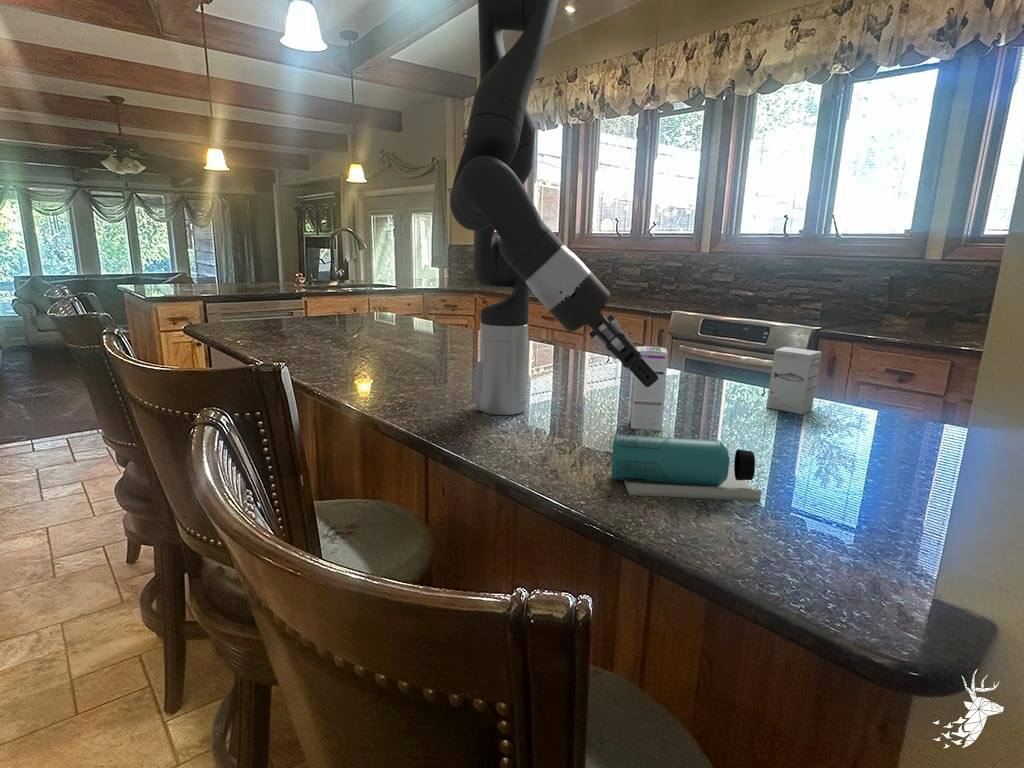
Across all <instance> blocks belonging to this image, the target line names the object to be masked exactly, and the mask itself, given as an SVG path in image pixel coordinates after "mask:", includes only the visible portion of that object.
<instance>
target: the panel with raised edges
mask: <svg viewBox="0 0 1024 768" xmlns="http://www.w3.org/2000/svg"><path fill="white" fill-rule="evenodd" d="M730 459H731V457H730V456H729V462H730V461H731V460H730ZM623 481H624V485H625V487H626V490H627V492H628V495H629V496H640V497H642V496H644V497H645V496H646V497H647V496H648V497H663V496H664V497H666V496H667V497H666V498H687V499H707V500H709V498H710V499H712V498H713V499H714V500H729V501H730V500H732V499H733V501H734V499H735V501H753V500H755V502H757V501H758V502H759V501H761V497H762V489H760V488H752V487H751V486H750V485H749V483H747V482H746V481H747V480H736V479H735V473H734V466H732V465H731V464H730V463H729V470H728V476H727V479H726V480H725V481H724V482H723V483H722V484H721V485H720V486H718V487H714V486H705V485H691V484H674V485H673V484H672V483H659V482H655V483H654V482H652V483H651V482H646V481H632V480H623ZM630 481H631V482H630ZM643 482H645V483H643ZM656 483H657V484H656ZM713 499H712V500H713ZM756 500H757V501H756Z"/></svg>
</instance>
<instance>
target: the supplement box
mask: <svg viewBox="0 0 1024 768" xmlns="http://www.w3.org/2000/svg"><path fill="white" fill-rule="evenodd" d="M773 353H774V354H773V358H772V360H773V361H772V367H771V374H770V382H769V387H768V395H767V400H766V408H767V409H773V410H774V409H775V410H778V411H783V412H789V413H793V414H797V415H800V416H803V415H804V414H806V413H807V412H809V411H810V410H812V409H813V406H814V405H813V404H814V399H815V394H816V392H815V391H816V387H817V381H818V375H819V370H820V363H821V358H822V353H823V352H822V351H820V350H819V351H818V350H811V349H806V348H805V349H804V348H797V347H790V346H783V347H780V348H777V349H774V352H773Z"/></svg>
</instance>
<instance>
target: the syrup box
mask: <svg viewBox="0 0 1024 768" xmlns="http://www.w3.org/2000/svg"><path fill="white" fill-rule="evenodd" d="M635 350H637V351H639V352H640V354H641V356H642V359H643V360H644V361H645V362H646V363H647V364H648V366H649V367H650V368H651V369H652V370H653V371H654V372H655V373H656V374H657V376H658V380H657V381H656V382H654V383H653V384H652V385H651V386H650V387H645V386H644V385H643V384H642V382H641V381H640V380H639V379H638V378H637V377H636V376H635V375H634V374H633V377H632V390H631V391H632V392H631V397H632V398H631V406H630V407H631V409H630V411H631V412H630V429H633V430H639V431H651V432H653V431H654V432H662V430H663V423H664V412H665V398H666V387H667V386H666V385H667V372H668V371H667V370H668V369H667V368H668V356H669V355H668V350H667V348H666V347H660V346H646V345H645V346H635Z"/></svg>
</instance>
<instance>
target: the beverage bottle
mask: <svg viewBox="0 0 1024 768" xmlns="http://www.w3.org/2000/svg"><path fill="white" fill-rule="evenodd" d="M611 455H612V456H611V479H614V480H616V481H620V482H622V481H624V480H632V481H646V482H651V483H652V482H654V483H655V482H659V483H672V484H673V485H674V484H691V485H705V486H714V487H718V486H720V485H721V484H722V483H723V482H724V481H725V480H726V479H727V476H728V470H729V464H730V461H729V457H730V456H729V450H728V448H727V447H726V446H725V445H724V444H723V443H722V442H721V441H720V440H719V439H718V440H717V439H715V440H711V439H710V440H709V439H707V440H706V439H695V438H694V439H692V438H679V437H676V436H675V437H671V436H669V437H667V436H664V435H662V436H655V435H652V436H651V435H649V436H648V434H646V435H637V434H629V433H626V434H624V433H623V434H622V433H621V434H614V435H613V442H612V454H611ZM733 464H734V465H733V468H734V473H735V479H736V480H745V481H752V480H754V476H755V473H756V471H755V470H756V458H755V454H754V452H753V451H752V450H746V449H739V448H738V449H736V451H735V453H734V462H733ZM630 482H631V481H630ZM643 483H645V482H643ZM656 484H657V483H656Z"/></svg>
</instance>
